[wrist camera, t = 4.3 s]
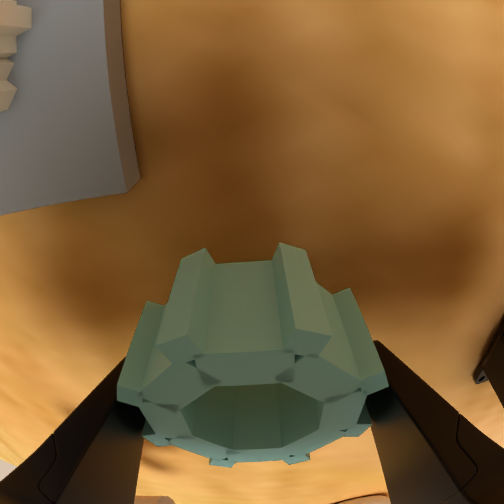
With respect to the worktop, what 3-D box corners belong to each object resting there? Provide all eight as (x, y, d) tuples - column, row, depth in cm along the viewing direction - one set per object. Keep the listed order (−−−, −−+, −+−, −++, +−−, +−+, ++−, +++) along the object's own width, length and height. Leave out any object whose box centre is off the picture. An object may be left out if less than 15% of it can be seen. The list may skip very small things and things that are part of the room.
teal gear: (365, 236, 8) (414, 313, 5) (340, 386, 11) (356, 455, 8) (123, 253, 8) (77, 333, 5) (175, 395, 11) (164, 464, 8)
